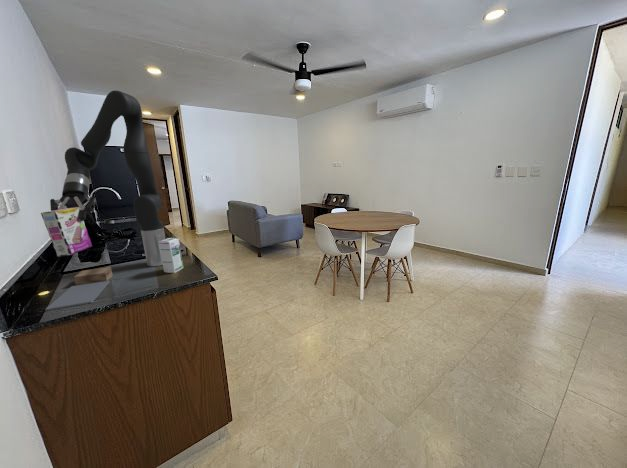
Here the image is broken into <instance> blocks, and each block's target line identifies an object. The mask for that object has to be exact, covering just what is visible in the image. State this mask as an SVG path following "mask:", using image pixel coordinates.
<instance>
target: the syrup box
mask: <svg viewBox="0 0 627 468" xmlns="http://www.w3.org/2000/svg"><path fill="white" fill-rule="evenodd" d="M158 243H159V248H160V253H161V258H162V263H163V265H162V269H163V272H164V273H167V274H168V273H170V274H176V273H177V272H179V271H181V270H183V269H184V268H185V267H184V262H183V256H182V255H183V254H182V250H181V245H180V239H179V238H178V237H177V238H176V237H167V238H165V240H162V241H159V242H158Z"/></svg>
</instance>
